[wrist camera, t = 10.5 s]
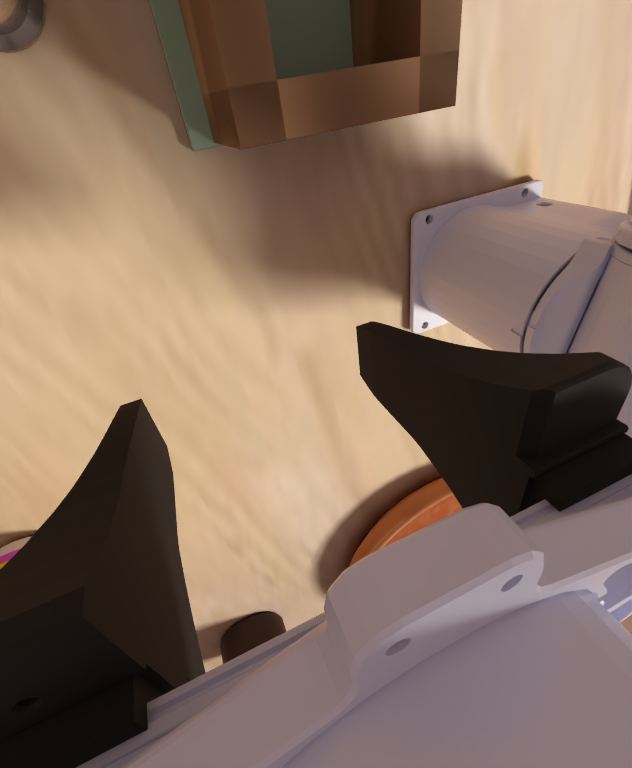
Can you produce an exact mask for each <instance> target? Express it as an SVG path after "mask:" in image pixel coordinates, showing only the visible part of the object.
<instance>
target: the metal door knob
mask: <svg viewBox="0 0 632 768" xmlns="http://www.w3.org/2000/svg"><path fill="white" fill-rule="evenodd" d="M44 20H45V2H44V0H0V52H4V53H11V52H17V51H21V50H24V49H26V48H28V47H29V46H31V45H32V44H33V43H34V42H35V41H36V40H37V38H38V37H39V35H40V33H41V31H42V29H43V25H44Z"/></svg>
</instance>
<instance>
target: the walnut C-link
mask: <svg viewBox="0 0 632 768" xmlns="http://www.w3.org/2000/svg"><path fill="white" fill-rule="evenodd" d="M349 1H350V17H351V34H352V50H353V67H352V68H346V69H340V70H334V71H328V72H322V73H316V74H310V75H304V76H298V77H292V78H286V79H280V80H277V75H276V69H275V62H274V56H273V50H272V43H271V37H270V30H269V24H268V18H267V11H266V5H265V0H178V3H179V7H180V11H181V15H182V19H183V22H184V26H185V30H186V34H187V38H188V42H189V46H190V50H191V54H192V58H193V62H194V66H195V70H196V73H197V77H198V81H199V85H200V89H201V93H202V97H203V101H204V105H205V109H206V113H207V117H208V121H209V124H210V128H211V132H212V136H213V140H214V143H218V144H222V145H226V146H230V147H234V148H238V149H245V148H249V147H254V146H259V145H264V144H269V143H274V142H279V141H284V140H289V139H294V138H299V137H303V136H308V135H313V134H318V133H323V132H328V131H333V130H338V129H343V128H348V127H352V126H357V125H362V124H367V123H372V122H377V121H382V120H387V119H392V118H397V117H401V116H406V115H411V114H416V113H421V112H426V111H431V110H436V109H441V108H446V107H451V106H455V101H456V87H457V72H458V57H459V42H460V27H461V12H462V0H349Z"/></svg>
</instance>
